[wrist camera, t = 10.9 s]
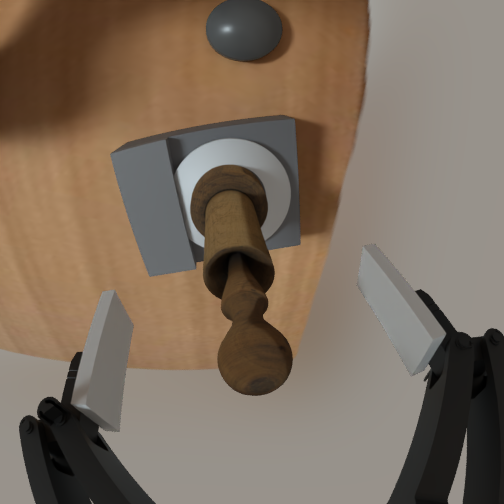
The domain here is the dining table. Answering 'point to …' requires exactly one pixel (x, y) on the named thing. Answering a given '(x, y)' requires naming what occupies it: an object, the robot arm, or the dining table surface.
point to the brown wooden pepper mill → (240, 277)
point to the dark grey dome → (243, 29)
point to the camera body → (187, 175)
